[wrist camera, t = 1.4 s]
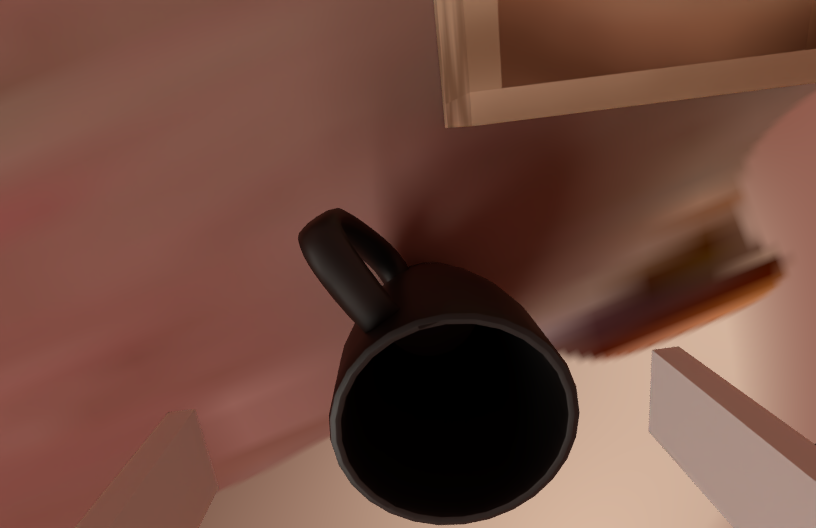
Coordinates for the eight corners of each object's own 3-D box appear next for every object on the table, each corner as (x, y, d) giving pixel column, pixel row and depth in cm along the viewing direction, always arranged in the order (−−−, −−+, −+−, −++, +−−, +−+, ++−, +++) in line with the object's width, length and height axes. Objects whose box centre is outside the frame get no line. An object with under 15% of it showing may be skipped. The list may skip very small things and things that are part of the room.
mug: (417, 138, 20) (440, 144, 11) (532, 332, 24) (621, 457, 15) (277, 229, 21) (194, 302, 12) (405, 403, 25) (414, 562, 16)
